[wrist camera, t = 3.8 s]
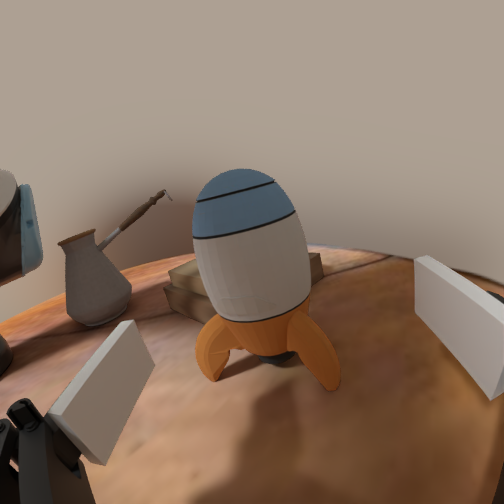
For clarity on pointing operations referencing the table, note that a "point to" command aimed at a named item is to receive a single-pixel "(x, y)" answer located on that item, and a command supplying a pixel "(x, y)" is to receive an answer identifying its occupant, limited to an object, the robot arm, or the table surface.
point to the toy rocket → (256, 277)
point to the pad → (205, 304)
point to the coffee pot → (97, 275)
